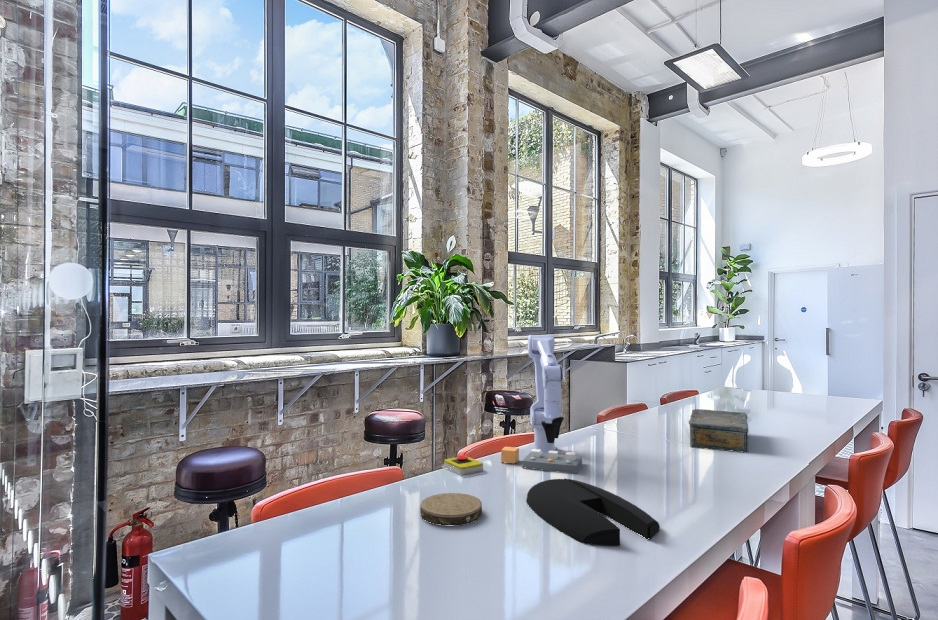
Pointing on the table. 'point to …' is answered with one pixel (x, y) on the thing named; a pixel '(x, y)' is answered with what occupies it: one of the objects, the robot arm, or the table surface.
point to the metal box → (718, 430)
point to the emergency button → (464, 466)
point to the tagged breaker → (553, 455)
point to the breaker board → (553, 462)
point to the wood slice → (451, 509)
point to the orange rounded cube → (510, 454)
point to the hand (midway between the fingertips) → (552, 440)
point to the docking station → (587, 511)
